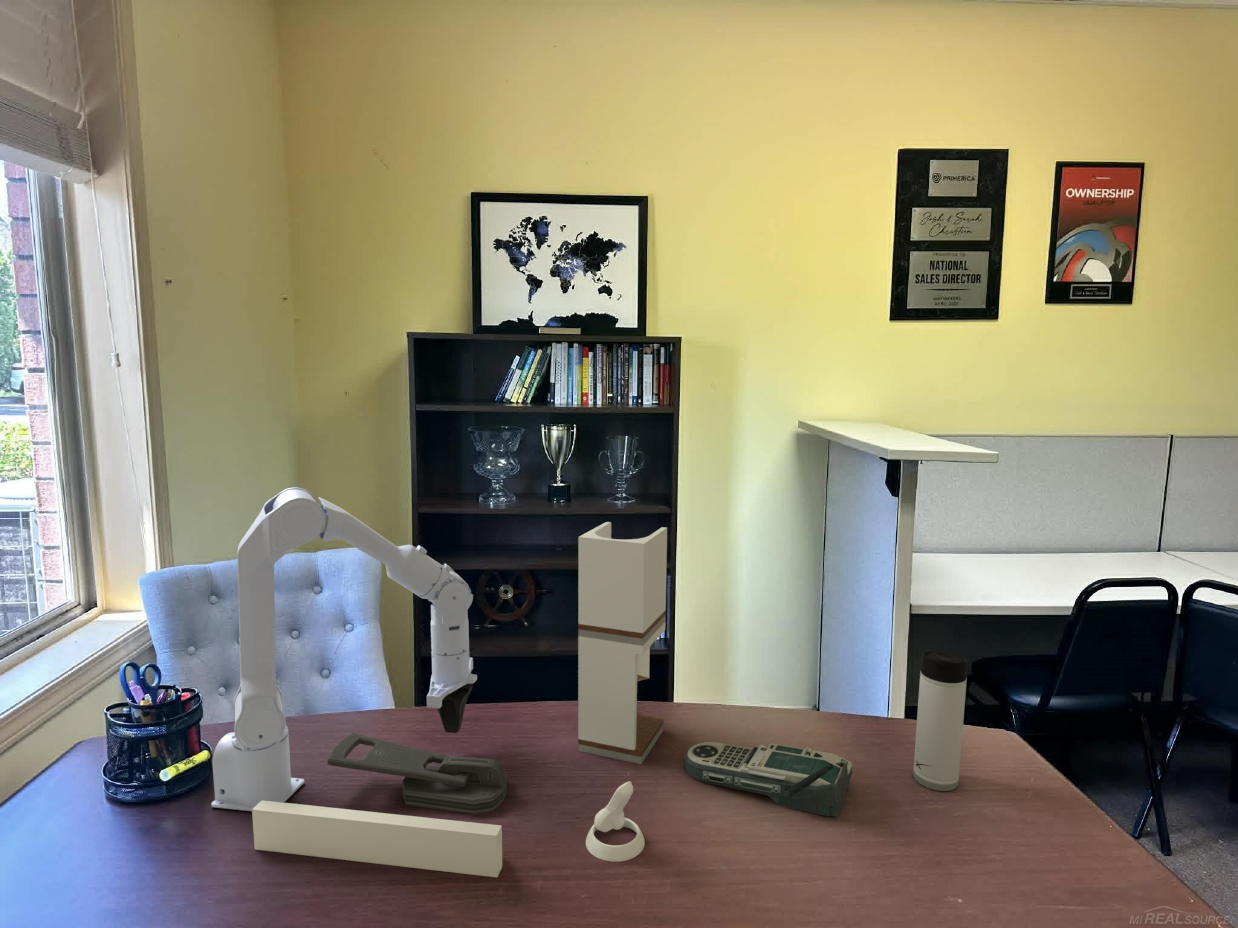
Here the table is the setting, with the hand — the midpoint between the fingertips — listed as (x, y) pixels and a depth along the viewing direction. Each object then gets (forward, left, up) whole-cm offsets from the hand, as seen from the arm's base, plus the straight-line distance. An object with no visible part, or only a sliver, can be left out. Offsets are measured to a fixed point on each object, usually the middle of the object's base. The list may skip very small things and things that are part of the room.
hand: (452, 730), depth 120 cm
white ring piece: (+29, -18, -4) cm, 34 cm away
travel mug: (+74, +4, -4) cm, 74 cm away
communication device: (+48, -1, -4) cm, 49 cm away
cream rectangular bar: (0, -25, -4) cm, 25 cm away
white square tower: (+26, +8, -4) cm, 27 cm away
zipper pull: (-1, -11, -4) cm, 12 cm away
